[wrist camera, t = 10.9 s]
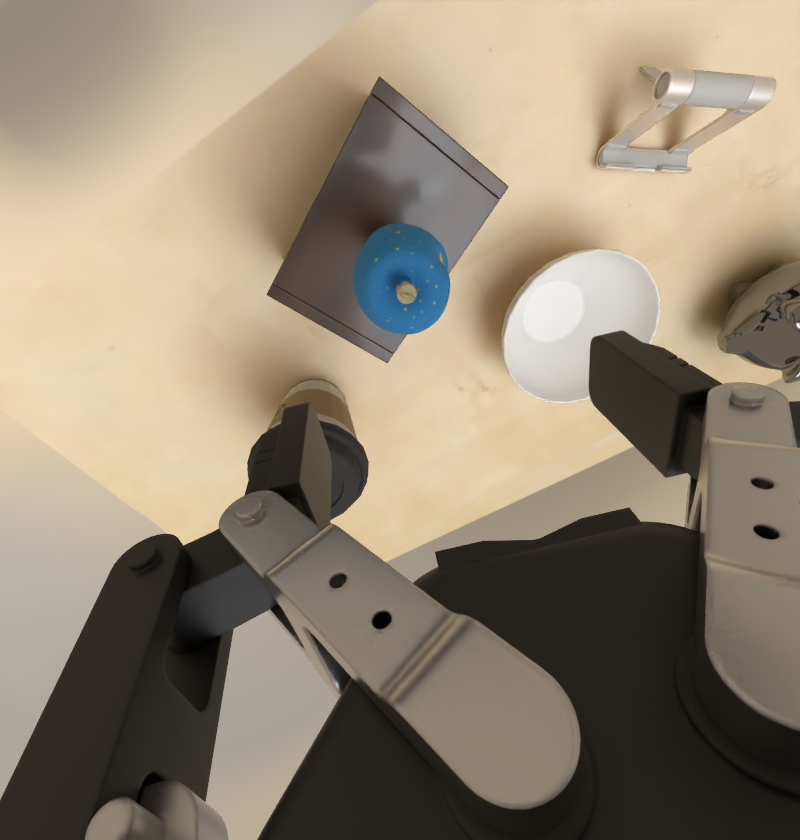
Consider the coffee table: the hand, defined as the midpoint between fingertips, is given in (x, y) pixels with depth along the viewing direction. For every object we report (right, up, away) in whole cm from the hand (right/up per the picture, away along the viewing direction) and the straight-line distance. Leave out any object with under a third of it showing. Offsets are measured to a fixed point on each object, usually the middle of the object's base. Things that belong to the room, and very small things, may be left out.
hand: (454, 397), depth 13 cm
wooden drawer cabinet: (-4, +19, +30) cm, 36 cm away
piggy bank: (+40, +14, +39) cm, 58 cm away
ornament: (-3, +13, +20) cm, 24 cm away
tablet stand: (+22, +27, +28) cm, 45 cm away
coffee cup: (-12, +1, +40) cm, 42 cm away
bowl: (+16, +12, +37) cm, 42 cm away
